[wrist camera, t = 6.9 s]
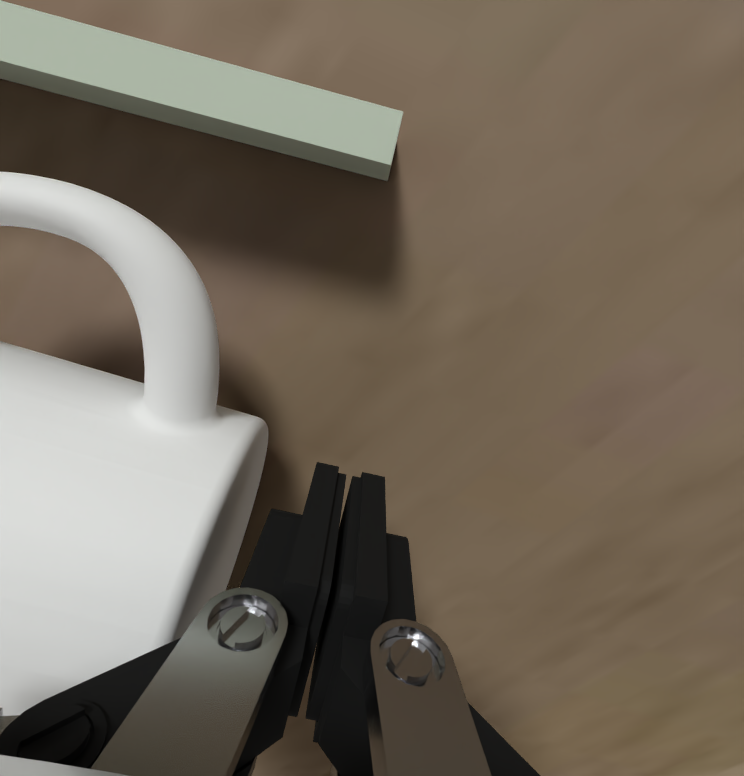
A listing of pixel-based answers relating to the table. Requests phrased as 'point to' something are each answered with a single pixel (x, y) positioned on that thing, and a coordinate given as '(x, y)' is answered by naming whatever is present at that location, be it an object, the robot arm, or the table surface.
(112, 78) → the green u-shaped bracket
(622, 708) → the table surface
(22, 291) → the table surface
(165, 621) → the mug
